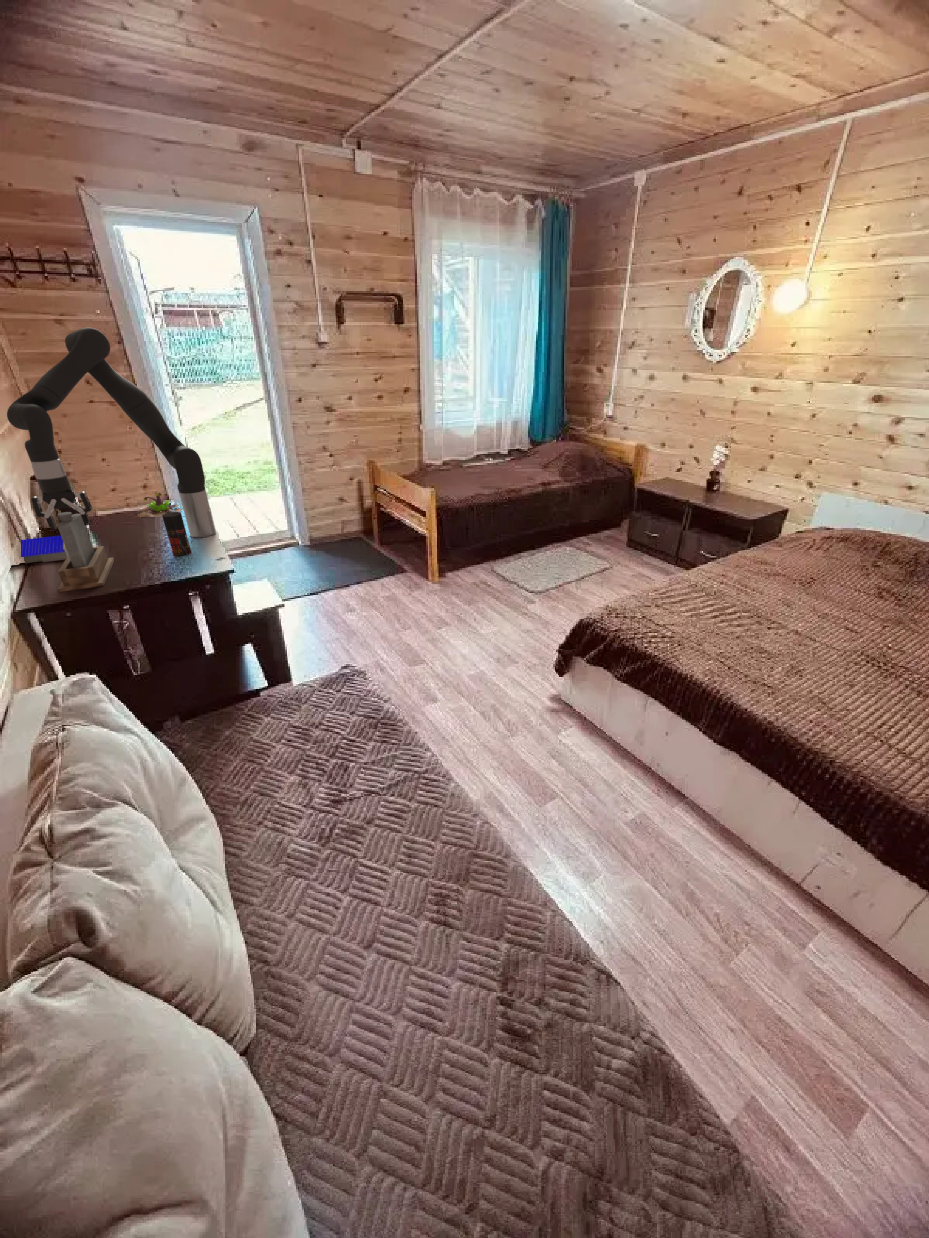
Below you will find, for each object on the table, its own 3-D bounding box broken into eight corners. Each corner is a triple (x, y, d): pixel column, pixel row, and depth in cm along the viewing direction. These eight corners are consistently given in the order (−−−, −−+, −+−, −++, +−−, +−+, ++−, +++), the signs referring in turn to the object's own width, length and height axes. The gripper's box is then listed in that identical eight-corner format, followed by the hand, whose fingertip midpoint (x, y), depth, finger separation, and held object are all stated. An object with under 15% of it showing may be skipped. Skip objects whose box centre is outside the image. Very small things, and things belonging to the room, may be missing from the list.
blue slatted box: (76, 547, 196) (69, 528, 193) (67, 560, 185) (60, 540, 182) (5, 555, 189) (-3, 536, 186) (-9, 569, 178) (-18, 549, 174)
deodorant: (172, 553, 190) (161, 513, 183) (190, 550, 193) (180, 510, 186) (174, 558, 185) (162, 517, 178) (192, 555, 188) (181, 515, 181)
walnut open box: (114, 560, 184) (108, 543, 182) (103, 585, 165) (97, 568, 162) (74, 565, 180) (68, 548, 177) (58, 592, 161) (51, 574, 158)
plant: (135, 525, 221) (127, 499, 216) (137, 513, 236) (130, 488, 231) (187, 518, 229) (181, 493, 224) (186, 507, 244) (180, 483, 239)
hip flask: (88, 580, 166) (66, 519, 157) (74, 582, 165) (50, 521, 156) (99, 562, 179) (79, 505, 170) (86, 564, 178) (64, 507, 169)
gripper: (81, 470, 163) (98, 520, 170) (25, 475, 158) (46, 526, 165) (76, 475, 157) (95, 527, 164) (18, 480, 152) (40, 533, 159)
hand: (70, 526), depth 165 cm, fingers open, 8 cm apart
